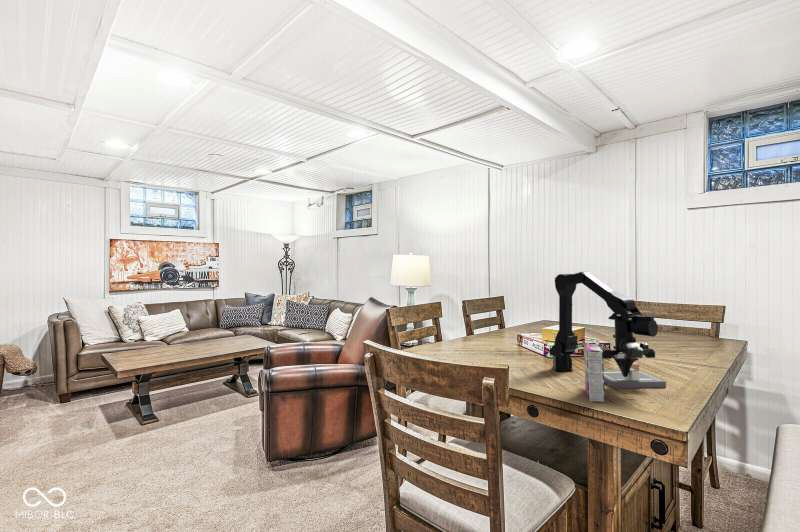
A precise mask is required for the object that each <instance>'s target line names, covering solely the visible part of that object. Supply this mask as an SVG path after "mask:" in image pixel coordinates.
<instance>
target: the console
mask: <svg viewBox="0 0 800 532" xmlns="http://www.w3.org/2000/svg"><path fill="white" fill-rule="evenodd" d="M604 384H606V385H608V386H609V385H610V386H609V387H611V388H612V389H639V388H640V389H641V388H643V389H644V388H648V389H649V388H650V389H651V388H667V381H666V380H664V379H661V378H659V377H657V376H654V375H651V374H650V373H647V372H645V371H642V370H640V369H639V380H638V381H632V380H630V379H628V378H627V377H623V375H622V373H621V370H620V369H619V370H618V369H617V370H616V369H615V370H604Z"/></svg>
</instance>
